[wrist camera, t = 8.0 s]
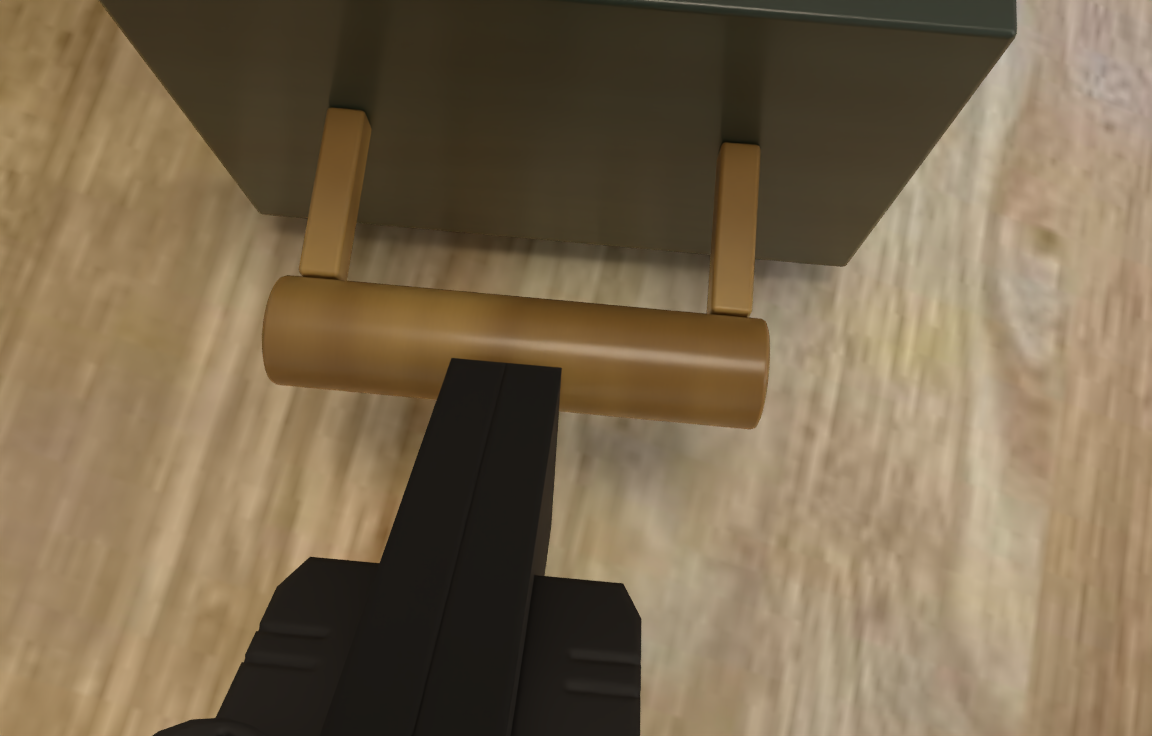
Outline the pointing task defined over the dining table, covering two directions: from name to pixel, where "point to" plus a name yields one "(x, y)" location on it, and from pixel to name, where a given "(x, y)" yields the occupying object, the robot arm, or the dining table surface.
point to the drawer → (564, 165)
